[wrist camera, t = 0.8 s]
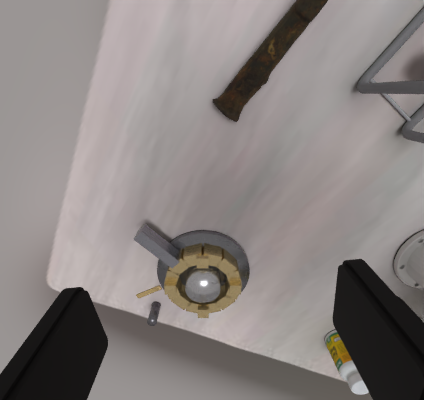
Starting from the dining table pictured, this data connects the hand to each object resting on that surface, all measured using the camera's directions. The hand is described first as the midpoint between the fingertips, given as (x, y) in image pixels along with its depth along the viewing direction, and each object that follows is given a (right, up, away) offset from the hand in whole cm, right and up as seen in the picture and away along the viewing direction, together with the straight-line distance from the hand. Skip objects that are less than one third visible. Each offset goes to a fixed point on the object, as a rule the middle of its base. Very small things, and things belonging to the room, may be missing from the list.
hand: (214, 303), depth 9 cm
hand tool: (+7, +23, +22) cm, 32 cm away
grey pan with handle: (-4, -7, +32) cm, 33 cm away
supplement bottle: (+26, -25, +42) cm, 55 cm away
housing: (-4, -10, +36) cm, 37 cm away
